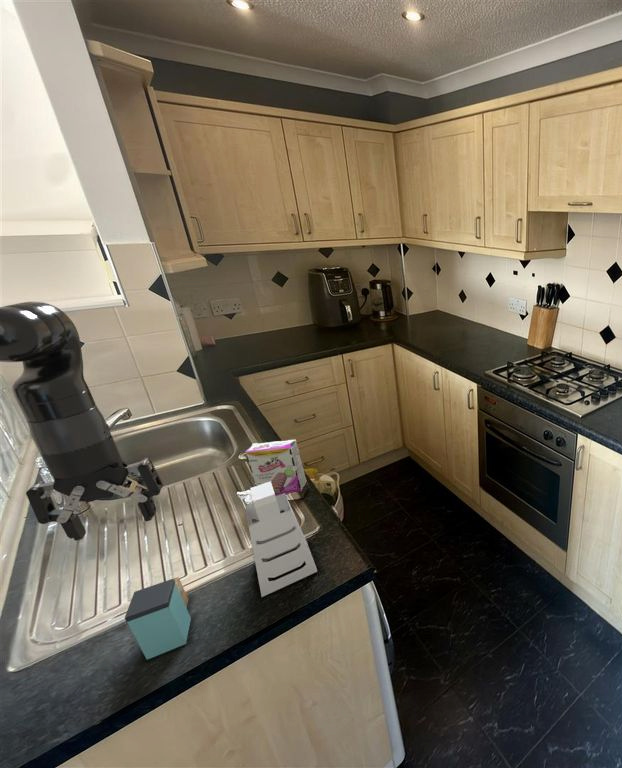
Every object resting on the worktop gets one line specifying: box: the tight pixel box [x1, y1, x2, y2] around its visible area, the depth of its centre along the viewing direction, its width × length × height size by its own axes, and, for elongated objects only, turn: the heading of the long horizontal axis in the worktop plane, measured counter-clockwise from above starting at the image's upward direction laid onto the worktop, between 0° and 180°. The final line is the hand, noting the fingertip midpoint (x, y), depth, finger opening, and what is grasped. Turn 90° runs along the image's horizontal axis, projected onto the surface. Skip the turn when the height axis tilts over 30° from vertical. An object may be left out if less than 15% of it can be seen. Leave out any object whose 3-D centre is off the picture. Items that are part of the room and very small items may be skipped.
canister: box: [124, 577, 192, 661], centre depth 71 cm, size 6×11×11 cm
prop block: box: [174, 576, 189, 609], centre depth 77 cm, size 3×4×6 cm
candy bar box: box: [245, 439, 308, 496], centre depth 109 cm, size 11×5×16 cm, turn 100°
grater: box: [244, 481, 318, 598], centre depth 84 cm, size 10×10×20 cm
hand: (116, 527), depth 66 cm, fingers open, 8 cm apart
